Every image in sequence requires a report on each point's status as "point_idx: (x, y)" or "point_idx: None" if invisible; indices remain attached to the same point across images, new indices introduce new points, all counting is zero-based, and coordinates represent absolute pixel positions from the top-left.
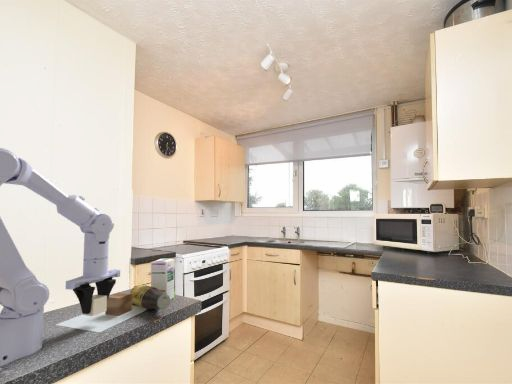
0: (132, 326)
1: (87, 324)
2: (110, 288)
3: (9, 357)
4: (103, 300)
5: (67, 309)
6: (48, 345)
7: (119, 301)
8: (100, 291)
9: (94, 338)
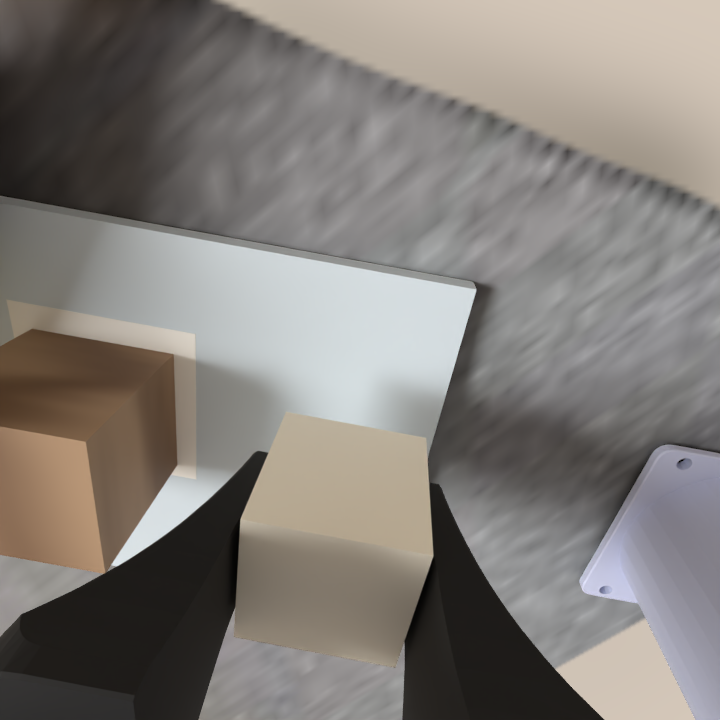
0: (273, 117)
1: None
2: (151, 577)
3: None
4: (298, 495)
5: None
6: (602, 489)
7: (99, 418)
8: (215, 636)
9: (516, 287)
